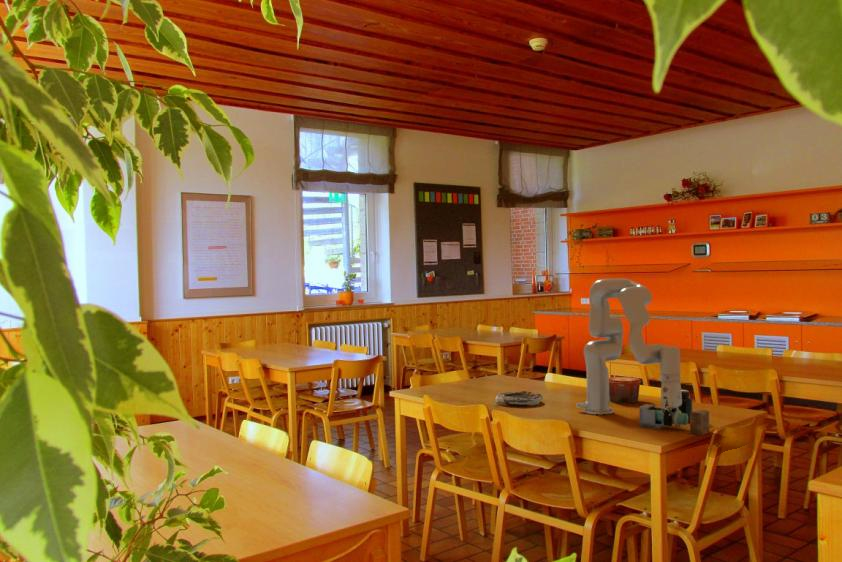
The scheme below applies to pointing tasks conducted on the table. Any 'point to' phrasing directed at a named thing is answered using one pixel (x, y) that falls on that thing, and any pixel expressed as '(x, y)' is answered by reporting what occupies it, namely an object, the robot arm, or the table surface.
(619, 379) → the food container
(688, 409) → the supplement bottle
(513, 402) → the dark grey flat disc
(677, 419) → the tube
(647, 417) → the sleeve
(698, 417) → the socket block
